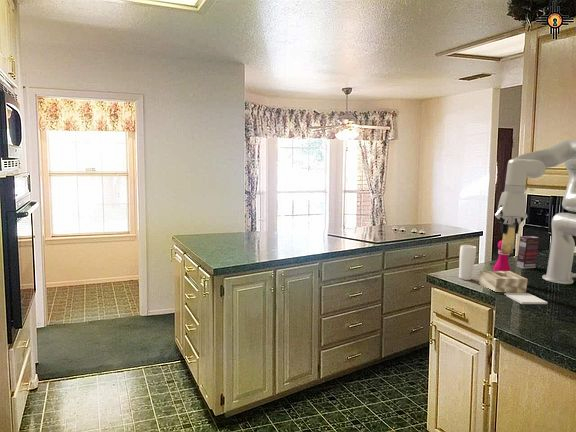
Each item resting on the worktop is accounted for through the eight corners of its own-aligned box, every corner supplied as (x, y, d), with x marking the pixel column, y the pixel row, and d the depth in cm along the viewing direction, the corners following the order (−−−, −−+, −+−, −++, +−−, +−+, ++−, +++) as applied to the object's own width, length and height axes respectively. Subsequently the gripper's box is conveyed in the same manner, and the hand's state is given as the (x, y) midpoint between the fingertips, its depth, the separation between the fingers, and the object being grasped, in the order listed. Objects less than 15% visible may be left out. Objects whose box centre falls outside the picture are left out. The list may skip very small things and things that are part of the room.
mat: (528, 295, 193) (528, 293, 193) (547, 304, 182) (547, 302, 182) (504, 294, 191) (504, 292, 191) (521, 304, 180) (521, 302, 180)
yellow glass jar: (508, 251, 200) (511, 223, 199) (514, 253, 196) (518, 225, 194) (498, 251, 200) (502, 223, 198) (505, 253, 195) (508, 224, 194)
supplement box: (528, 265, 246) (532, 235, 244) (536, 268, 242) (540, 237, 239) (515, 266, 243) (519, 236, 241) (523, 268, 239) (527, 237, 236)
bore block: (508, 284, 207) (509, 271, 206) (525, 293, 195) (527, 279, 195) (478, 284, 205) (480, 270, 204) (494, 292, 193) (496, 278, 192)
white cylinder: (453, 277, 214) (457, 244, 212) (465, 276, 217) (468, 244, 214) (464, 281, 208) (468, 248, 206) (476, 280, 211) (480, 247, 208)
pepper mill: (511, 283, 210) (516, 238, 207) (493, 281, 211) (499, 237, 208) (507, 278, 217) (512, 236, 214) (490, 277, 218) (495, 234, 215)
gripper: (527, 189, 199) (521, 231, 202) (490, 187, 196) (485, 231, 199) (539, 191, 192) (533, 235, 194) (501, 189, 189) (495, 234, 192)
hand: (509, 232), depth 197 cm, fingers closed on yellow glass jar, 4 cm apart
